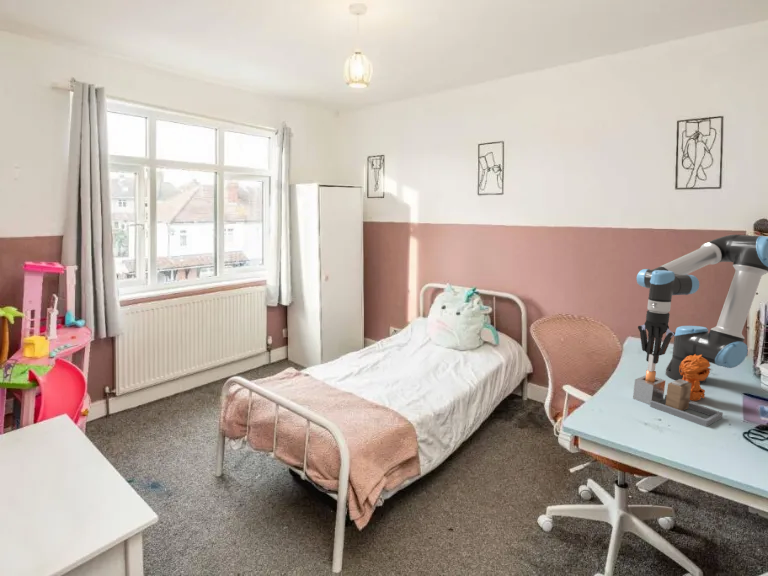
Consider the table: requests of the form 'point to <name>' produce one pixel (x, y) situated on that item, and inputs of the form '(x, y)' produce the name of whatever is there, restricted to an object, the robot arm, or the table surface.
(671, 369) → the robot arm
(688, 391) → the carriage
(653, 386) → the grey block with hole
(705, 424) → the guide channel
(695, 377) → the orange figurine
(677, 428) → the table surface
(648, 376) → the orange rounded peg
